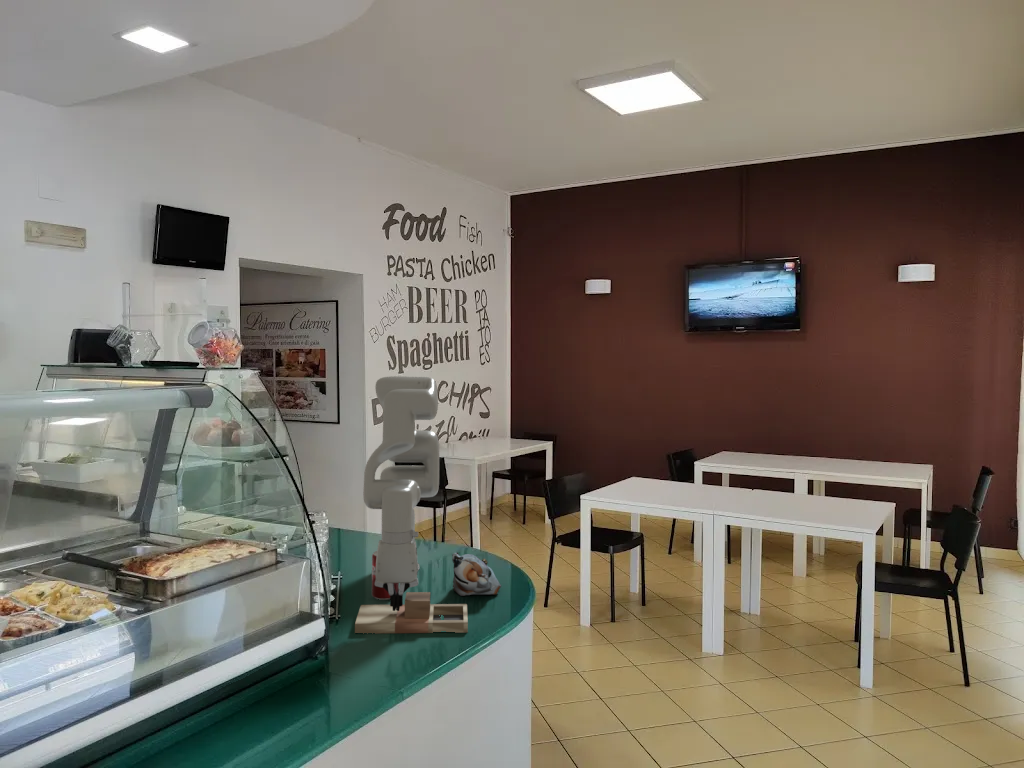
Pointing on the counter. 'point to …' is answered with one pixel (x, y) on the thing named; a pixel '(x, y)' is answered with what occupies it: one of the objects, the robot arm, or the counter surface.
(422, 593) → the walnut block
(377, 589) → the soda can
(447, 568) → the counter surface
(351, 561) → the counter surface
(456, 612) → the trap deck
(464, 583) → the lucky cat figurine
